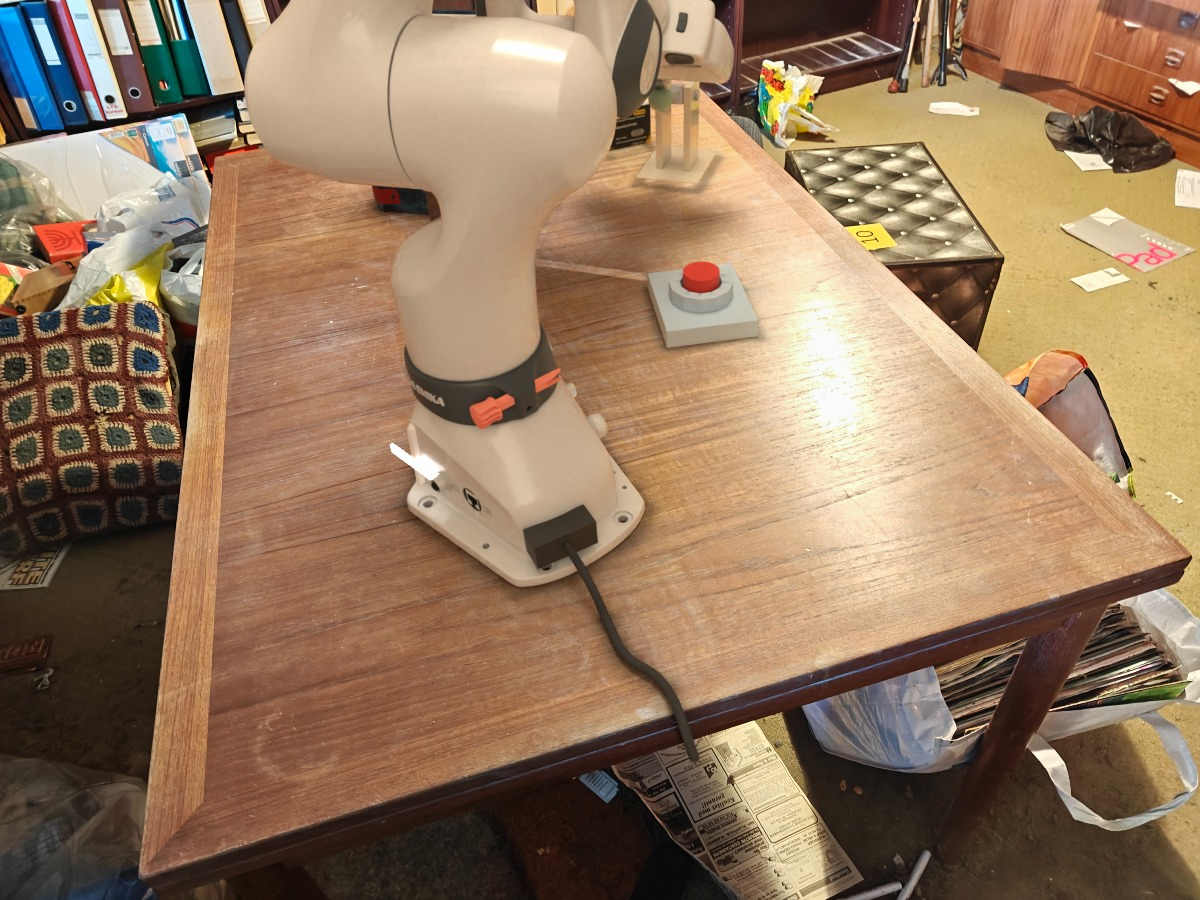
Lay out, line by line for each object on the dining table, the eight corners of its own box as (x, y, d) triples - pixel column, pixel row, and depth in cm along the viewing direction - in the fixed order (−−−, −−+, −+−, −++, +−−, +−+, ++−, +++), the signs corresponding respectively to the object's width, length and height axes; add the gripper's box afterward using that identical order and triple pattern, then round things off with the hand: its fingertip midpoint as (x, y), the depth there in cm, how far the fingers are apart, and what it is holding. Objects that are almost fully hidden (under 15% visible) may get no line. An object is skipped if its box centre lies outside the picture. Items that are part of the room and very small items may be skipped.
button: (722, 292, 93) (723, 278, 92) (686, 296, 93) (686, 282, 92) (714, 273, 96) (715, 259, 95) (679, 277, 96) (679, 263, 95)
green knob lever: (668, 114, 108) (670, 86, 107) (644, 112, 109) (645, 85, 108) (690, 106, 118) (692, 81, 116) (668, 104, 118) (669, 79, 117)
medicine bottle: (608, 158, 128) (603, 75, 120) (591, 140, 133) (585, 60, 125) (651, 148, 130) (650, 66, 122) (633, 131, 135) (630, 51, 127)
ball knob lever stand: (697, 191, 119) (699, 98, 110) (635, 184, 121) (632, 93, 112) (717, 157, 126) (720, 68, 117) (658, 152, 129) (657, 64, 120)
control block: (757, 336, 93) (759, 305, 90) (666, 348, 92) (666, 317, 89) (730, 279, 102) (732, 249, 99) (647, 289, 101) (646, 259, 98)
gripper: (541, 48, 98) (578, 102, 111) (716, 58, 92) (733, 114, 105) (552, -6, 98) (588, 54, 111) (727, 1, 92) (743, 63, 105)
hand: (660, 83), depth 108 cm, fingers closed, pressing on green knob lever
